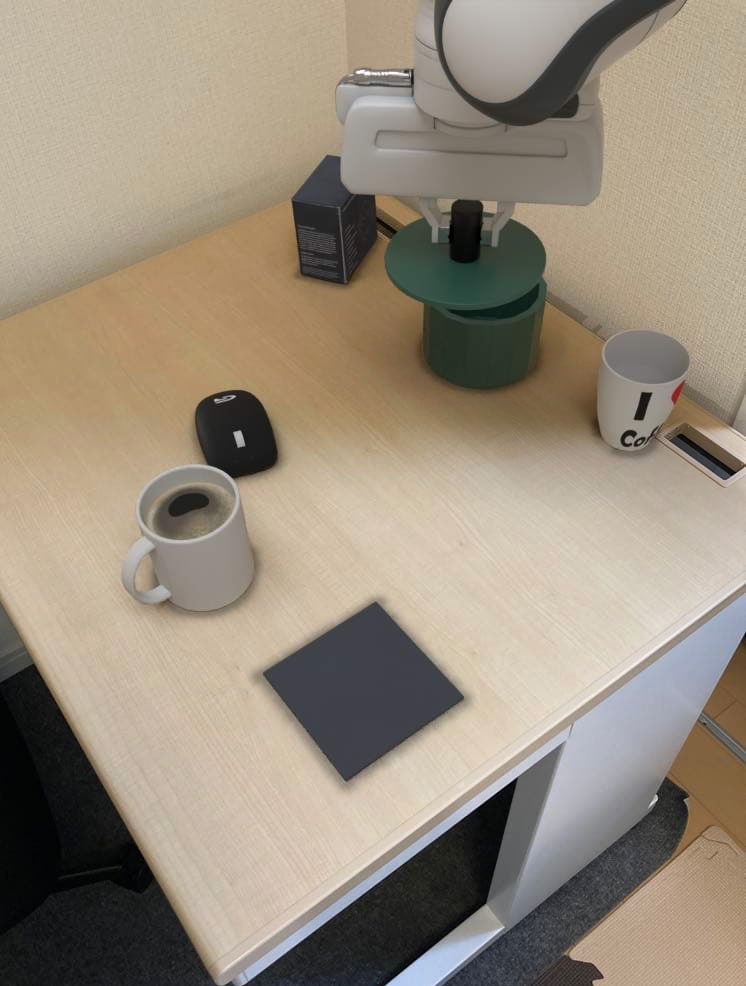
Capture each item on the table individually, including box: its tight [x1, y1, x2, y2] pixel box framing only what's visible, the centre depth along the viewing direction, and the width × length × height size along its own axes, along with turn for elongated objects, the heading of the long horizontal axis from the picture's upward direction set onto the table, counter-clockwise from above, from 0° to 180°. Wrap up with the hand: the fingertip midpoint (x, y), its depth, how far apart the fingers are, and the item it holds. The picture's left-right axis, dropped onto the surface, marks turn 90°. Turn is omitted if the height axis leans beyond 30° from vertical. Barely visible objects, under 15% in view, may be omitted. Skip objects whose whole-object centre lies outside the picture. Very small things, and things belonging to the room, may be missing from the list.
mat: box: [262, 601, 465, 782], centre depth 76 cm, size 12×12×1 cm
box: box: [290, 154, 379, 284], centre depth 110 cm, size 11×7×10 cm, turn 157°
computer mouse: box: [194, 389, 279, 479], centre depth 93 cm, size 8×12×4 cm, turn 18°
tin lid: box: [384, 199, 547, 310], centre depth 76 cm, size 14×14×6 cm
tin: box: [422, 276, 548, 390], centre depth 98 cm, size 13×13×8 cm
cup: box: [596, 328, 693, 452], centre depth 89 cm, size 8×8×10 cm
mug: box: [121, 463, 255, 612], centre depth 80 cm, size 11×10×10 cm
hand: (465, 241), depth 76 cm, fingers closed on tin lid, 2 cm apart
